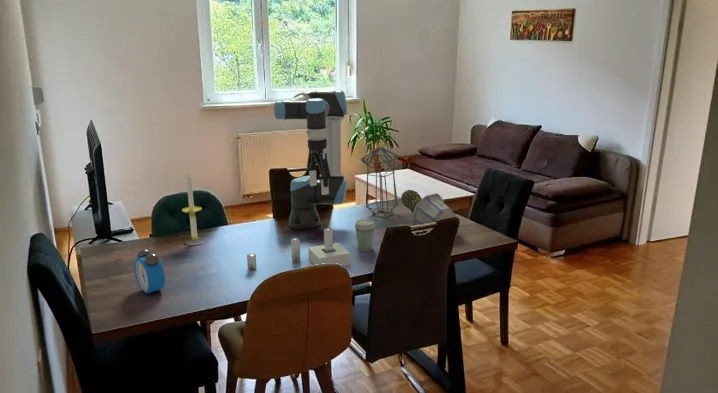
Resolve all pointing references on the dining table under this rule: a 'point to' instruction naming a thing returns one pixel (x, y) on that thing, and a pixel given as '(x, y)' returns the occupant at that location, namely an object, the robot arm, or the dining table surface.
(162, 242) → the dining table surface
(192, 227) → the candlestick
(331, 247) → the long pin
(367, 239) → the coffee cup
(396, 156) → the geometric lantern
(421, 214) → the potted plant
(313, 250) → the hole block
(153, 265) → the alarm clock
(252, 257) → the short pin
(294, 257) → the medium pin
